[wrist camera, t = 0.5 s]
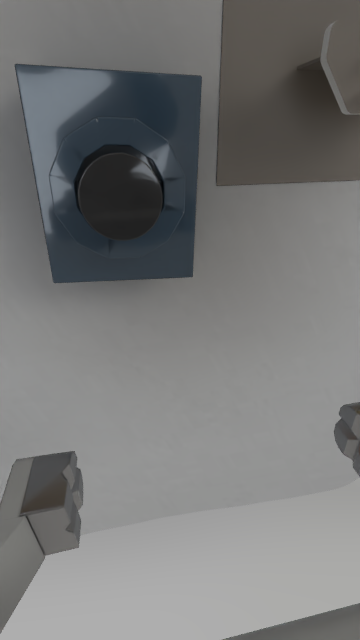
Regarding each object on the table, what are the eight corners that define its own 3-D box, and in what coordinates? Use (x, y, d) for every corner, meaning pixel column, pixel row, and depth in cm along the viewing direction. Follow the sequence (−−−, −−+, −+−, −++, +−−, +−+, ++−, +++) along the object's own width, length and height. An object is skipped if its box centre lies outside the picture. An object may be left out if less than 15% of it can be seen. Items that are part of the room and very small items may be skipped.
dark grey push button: (76, 150, 16) (72, 151, 14) (157, 152, 17) (162, 153, 15) (86, 232, 18) (83, 242, 16) (158, 230, 18) (162, 240, 17)
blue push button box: (33, 78, 19) (2, 54, 13) (186, 87, 20) (211, 68, 15) (62, 262, 24) (48, 295, 19) (181, 258, 25) (199, 287, 20)
